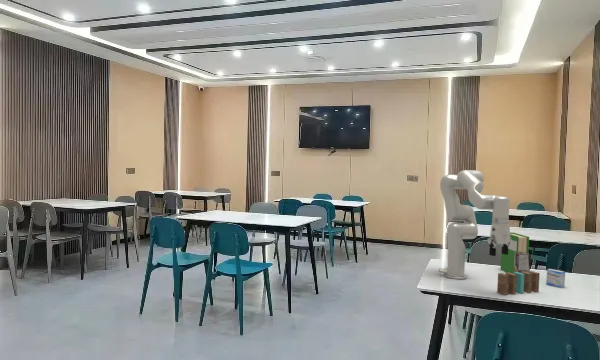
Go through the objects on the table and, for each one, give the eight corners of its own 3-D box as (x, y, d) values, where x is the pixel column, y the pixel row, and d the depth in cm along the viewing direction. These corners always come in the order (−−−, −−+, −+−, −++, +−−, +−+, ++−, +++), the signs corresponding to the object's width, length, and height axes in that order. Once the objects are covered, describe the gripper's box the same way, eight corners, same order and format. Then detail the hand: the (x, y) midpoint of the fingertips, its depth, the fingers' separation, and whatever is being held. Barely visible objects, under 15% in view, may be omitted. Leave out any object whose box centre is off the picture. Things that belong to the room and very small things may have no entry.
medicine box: (545, 284, 246) (546, 269, 245) (549, 283, 248) (550, 268, 248) (560, 288, 239) (561, 272, 239) (564, 287, 242) (565, 271, 242)
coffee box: (529, 283, 246) (531, 255, 246) (517, 282, 248) (518, 254, 247) (525, 280, 255) (526, 252, 255) (513, 279, 256) (514, 251, 256)
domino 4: (535, 292, 229) (536, 273, 228) (527, 289, 233) (528, 271, 233) (538, 292, 229) (539, 273, 229) (530, 289, 234) (531, 270, 234)
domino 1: (504, 295, 221) (505, 275, 221) (497, 292, 226) (498, 273, 226) (507, 294, 222) (508, 275, 222) (500, 292, 227) (501, 272, 226)
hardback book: (527, 276, 263) (529, 236, 262) (515, 276, 263) (517, 236, 262) (511, 270, 281) (513, 232, 280) (500, 269, 280) (502, 232, 280)
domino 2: (512, 294, 223) (513, 274, 223) (505, 291, 228) (505, 272, 228) (515, 294, 224) (516, 274, 224) (507, 291, 229) (508, 272, 228)
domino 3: (528, 293, 227) (529, 273, 227) (520, 290, 232) (521, 271, 231) (531, 292, 228) (532, 273, 227) (523, 290, 232) (524, 271, 232)
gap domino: (515, 290, 231) (516, 271, 230) (523, 293, 226) (524, 274, 226) (512, 291, 230) (513, 272, 230) (520, 293, 225) (521, 274, 225)
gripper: (495, 222, 214) (494, 257, 215) (517, 221, 223) (516, 255, 223) (482, 220, 221) (481, 254, 221) (504, 219, 229) (502, 252, 230)
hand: (498, 254), depth 222 cm, fingers open, 9 cm apart
